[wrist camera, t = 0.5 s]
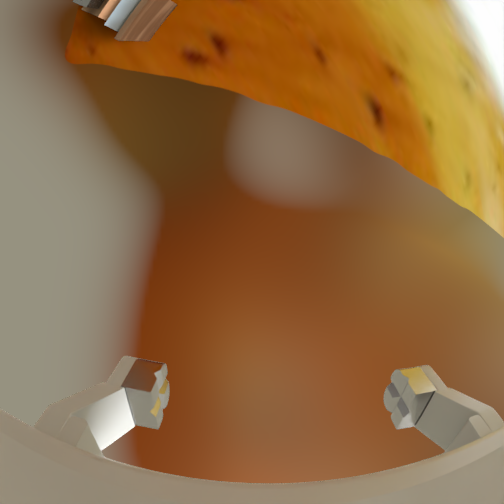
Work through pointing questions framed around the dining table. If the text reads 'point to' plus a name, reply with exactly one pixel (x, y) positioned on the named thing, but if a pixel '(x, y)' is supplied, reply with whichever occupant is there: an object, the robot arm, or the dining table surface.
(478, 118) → the dining table surface
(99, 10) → the shelf
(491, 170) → the dining table surface
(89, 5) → the bookend
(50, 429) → the robot arm
